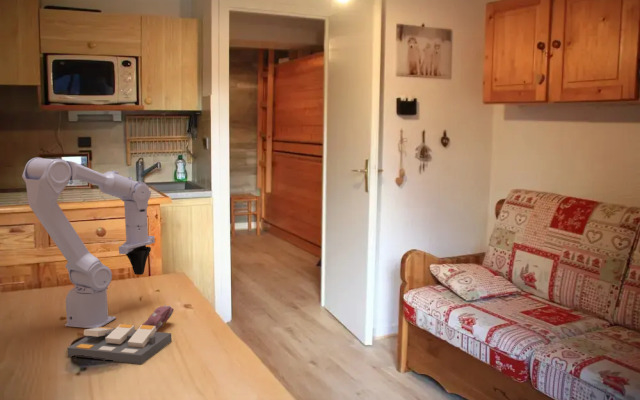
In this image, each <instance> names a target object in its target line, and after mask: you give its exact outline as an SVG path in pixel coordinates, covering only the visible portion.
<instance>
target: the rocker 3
mask: <svg viewBox="0 0 640 400" xmlns="http://www.w3.org/2000/svg"><path fill="white" fill-rule="evenodd" d="M136 330H137V331H136V332H135V333H134V334H133V336H132V337H131V338H130V339H129V341H128V345H129V346H132V347H142V348H144V346H145V345H146V344H147V342H148V341H149V338H150V337H151V336H153V334H154V333H155V332H156V331H157V330H156V326H149V325H142V324H141V325H140V326H139V327H138V328H137V329H136ZM157 332H158V331H157Z"/></svg>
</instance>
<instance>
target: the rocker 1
mask: <svg viewBox="0 0 640 400" xmlns="http://www.w3.org/2000/svg"><path fill="white" fill-rule="evenodd" d="M107 327H108V326H102V327H98V328H93V329H92V328H85V329H84V330H83V336H85V337H87V336H96V337H99V336H104V335H105V334H106V333H107V332H112V331H113V330H114V328H115V327H110V328H107Z"/></svg>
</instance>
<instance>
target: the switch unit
mask: <svg viewBox="0 0 640 400" xmlns="http://www.w3.org/2000/svg"><path fill="white" fill-rule="evenodd" d="M106 327H107V328H111V327H109V326H106ZM113 328H114V330H115V329H116V328H117V327H113ZM137 330H138V329H135V331H134V332H133V333H132V334H129V335H128V336H127V338H126V339H125V340H124V341H123V342H122V343H121V344H115V343H106V339H105V338H106V337H107V336H108V335H109V334H110V333H111V332H107V333H106V334H105V335H104V336H99V337H96V336H85V337H83V338H82V339H80V340H78V341H76V342H75V343H73V344H71V345H69V346H68V347H66V348H67V350H66V351H67V357H68V358H69V357H70V358H73V357H72V356H74V355H84V356H92V357H101V358H105V359H110V360H113V361H112V362H114V363H115V362H116V363H125V364H132V365H133V364H135V365H142V364H144V363H145V362H146V361H148V360H149V359H151V358H152V357H154V356H155V355H156V354H157V353H158V352H160V351H162V349H164V348H165V347H166V346H168V345H169V344H170V343H171V342H172V333H171V332H165V331H164V332H163V331H157V332H155V333H154V334H153V336H151V337H150V338H149V341H148V342H147V344H146V345H145V346H144V348H142V347H132V346H129V345H128V341H129V339H130V338H131V337H132V336H133V334H134V333H135V332H136V331H137Z"/></svg>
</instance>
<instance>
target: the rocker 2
mask: <svg viewBox="0 0 640 400" xmlns="http://www.w3.org/2000/svg"><path fill="white" fill-rule="evenodd" d="M115 328H116V329H115V330H113V331H112V332H111V333H110V334H109V335H108V336H107V337H106V338H105V339H106V343H115V344H121V343H122V342H123V341H124V340H125V339H126V338H127V336H128V335H129V334H132V333H133V332H134V331H135V330H136V326H135V325H133V324H124V323H123V324H122V323H120V324H119V325H118V326H117V327H115Z"/></svg>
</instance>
